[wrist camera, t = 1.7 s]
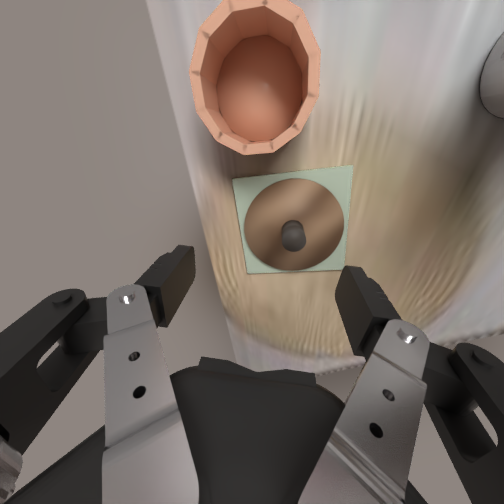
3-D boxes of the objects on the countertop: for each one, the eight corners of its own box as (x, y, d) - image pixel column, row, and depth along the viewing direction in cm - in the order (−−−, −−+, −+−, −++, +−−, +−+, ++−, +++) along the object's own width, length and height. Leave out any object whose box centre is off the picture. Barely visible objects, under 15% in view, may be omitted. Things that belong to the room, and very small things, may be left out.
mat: (342, 267, 33) (343, 269, 33) (248, 271, 36) (247, 273, 35) (351, 164, 26) (353, 165, 26) (232, 178, 29) (232, 179, 28)
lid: (364, 207, 28) (377, 218, 24) (308, 280, 35) (311, 298, 31) (271, 158, 26) (270, 163, 23) (231, 245, 33) (224, 260, 29)
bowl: (330, 61, 22) (348, 37, 16) (279, 164, 27) (279, 173, 22) (233, 3, 21) (216, -45, 15) (199, 123, 26) (177, 121, 20)
